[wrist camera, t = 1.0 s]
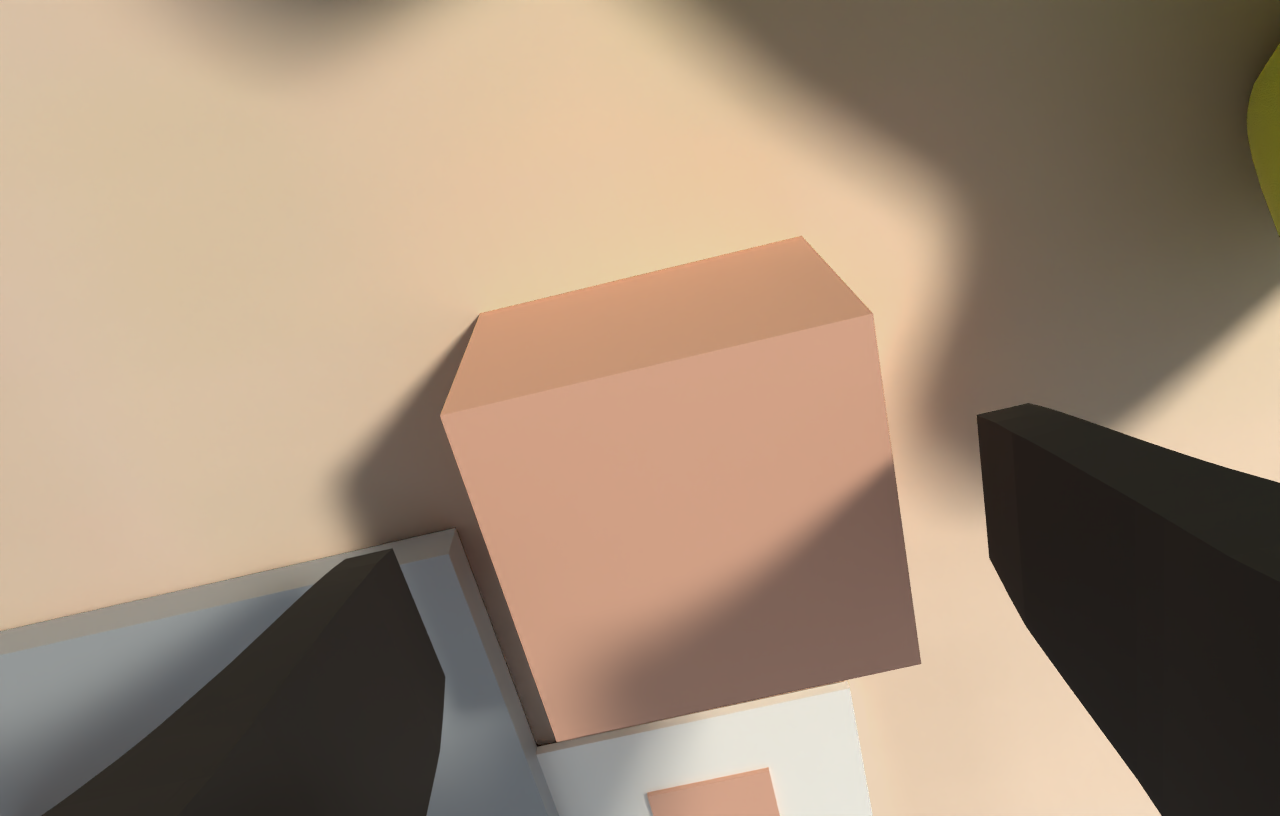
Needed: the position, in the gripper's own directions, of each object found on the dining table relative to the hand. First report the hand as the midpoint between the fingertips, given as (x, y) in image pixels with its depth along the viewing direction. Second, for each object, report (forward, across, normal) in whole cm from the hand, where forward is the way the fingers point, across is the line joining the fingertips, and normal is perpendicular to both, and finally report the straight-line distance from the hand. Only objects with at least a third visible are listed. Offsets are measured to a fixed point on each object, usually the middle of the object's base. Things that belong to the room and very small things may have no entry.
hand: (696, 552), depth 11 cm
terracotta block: (+4, 0, 0) cm, 4 cm away
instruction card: (+4, +1, +10) cm, 11 cm away
